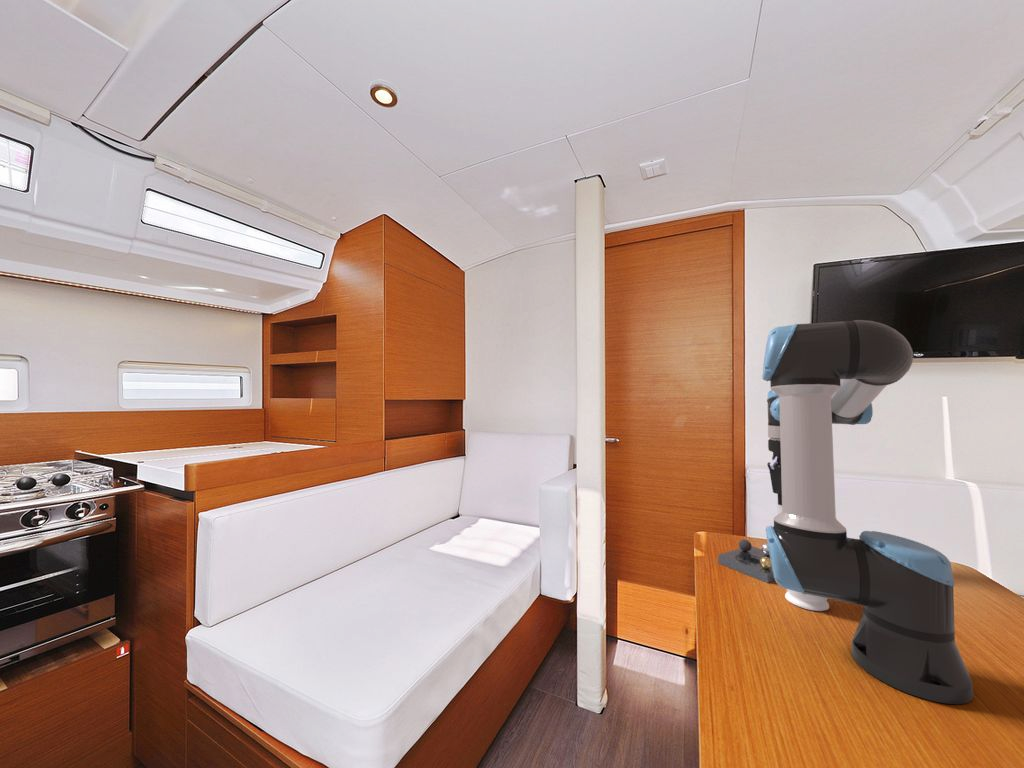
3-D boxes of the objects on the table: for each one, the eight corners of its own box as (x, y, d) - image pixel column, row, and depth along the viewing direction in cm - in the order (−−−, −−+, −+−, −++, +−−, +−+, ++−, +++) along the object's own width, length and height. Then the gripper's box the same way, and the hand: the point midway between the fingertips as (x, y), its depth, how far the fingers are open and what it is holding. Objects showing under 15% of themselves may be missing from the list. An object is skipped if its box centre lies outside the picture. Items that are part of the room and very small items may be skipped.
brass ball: (768, 571, 104) (768, 560, 104) (757, 567, 107) (757, 556, 107) (775, 569, 105) (774, 558, 106) (763, 565, 108) (763, 554, 108)
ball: (770, 558, 113) (770, 546, 113) (758, 554, 116) (758, 542, 116) (777, 556, 114) (777, 544, 115) (765, 552, 117) (765, 540, 118)
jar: (815, 593, 98) (814, 533, 98) (846, 616, 87) (845, 548, 88) (771, 590, 99) (770, 531, 99) (796, 613, 88) (795, 546, 89)
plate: (767, 583, 103) (767, 573, 103) (718, 563, 115) (718, 554, 115) (799, 571, 110) (799, 562, 110) (750, 553, 123) (750, 545, 123)
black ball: (747, 554, 116) (747, 542, 116) (736, 550, 119) (736, 538, 119) (754, 552, 117) (753, 540, 118) (743, 548, 120) (742, 537, 121)
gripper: (784, 441, 114) (785, 522, 114) (807, 439, 120) (808, 515, 120) (757, 439, 121) (759, 514, 120) (781, 437, 127) (782, 509, 126)
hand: (783, 515), depth 120 cm, fingers closed
